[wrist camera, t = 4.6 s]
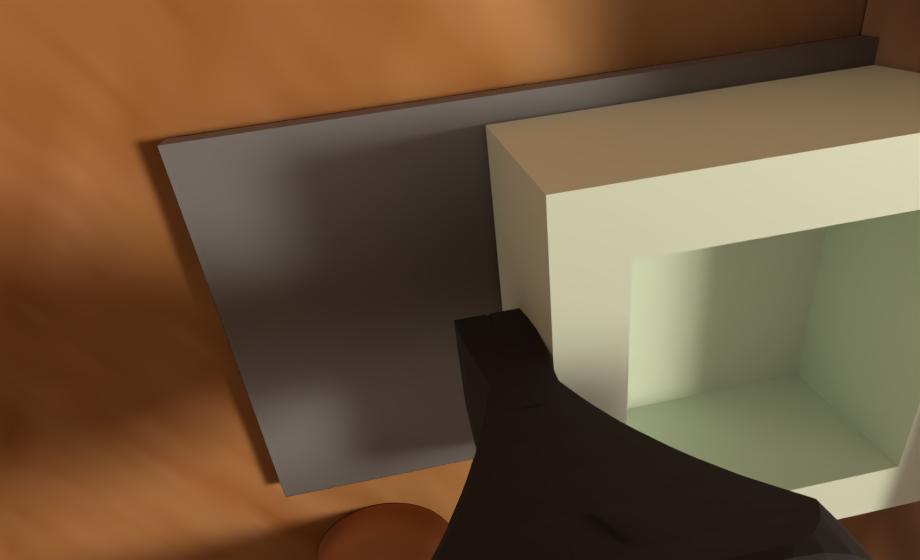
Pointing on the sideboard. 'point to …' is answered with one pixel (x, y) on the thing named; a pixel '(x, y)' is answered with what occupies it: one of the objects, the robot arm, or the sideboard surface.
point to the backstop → (416, 256)
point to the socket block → (733, 273)
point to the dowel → (384, 534)
